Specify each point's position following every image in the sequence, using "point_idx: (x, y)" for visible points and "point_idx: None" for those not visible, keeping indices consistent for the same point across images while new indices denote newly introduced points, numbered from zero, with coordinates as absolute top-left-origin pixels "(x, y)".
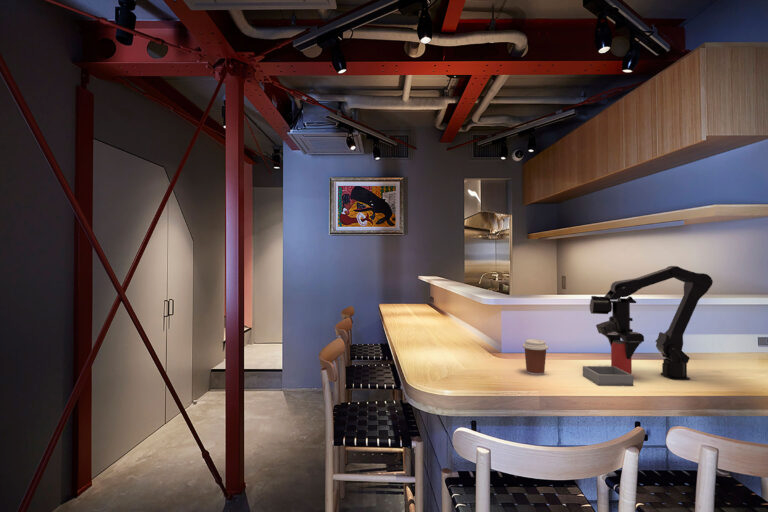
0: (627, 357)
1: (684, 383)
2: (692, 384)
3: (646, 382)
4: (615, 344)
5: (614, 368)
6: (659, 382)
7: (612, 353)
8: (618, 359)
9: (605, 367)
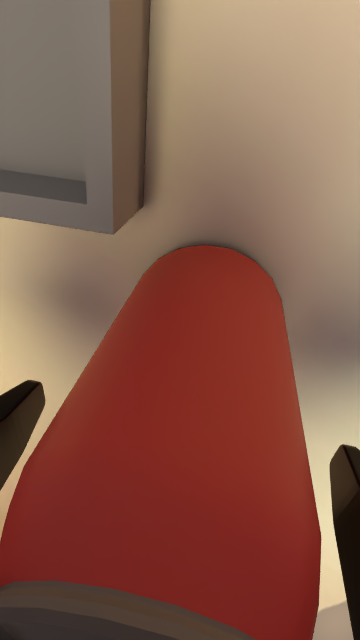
0: (8, 391)
1: (28, 452)
2: (20, 464)
3: (3, 315)
4: (79, 538)
5: (72, 197)
6: (20, 377)
7: (191, 358)
8: (114, 330)
9: (86, 88)
